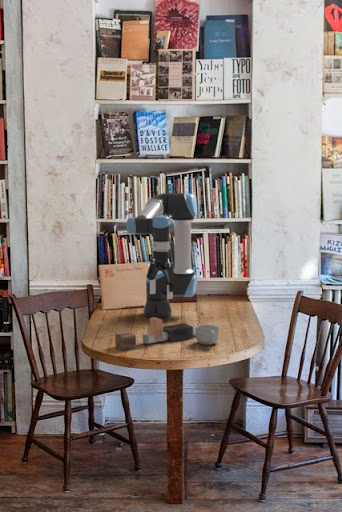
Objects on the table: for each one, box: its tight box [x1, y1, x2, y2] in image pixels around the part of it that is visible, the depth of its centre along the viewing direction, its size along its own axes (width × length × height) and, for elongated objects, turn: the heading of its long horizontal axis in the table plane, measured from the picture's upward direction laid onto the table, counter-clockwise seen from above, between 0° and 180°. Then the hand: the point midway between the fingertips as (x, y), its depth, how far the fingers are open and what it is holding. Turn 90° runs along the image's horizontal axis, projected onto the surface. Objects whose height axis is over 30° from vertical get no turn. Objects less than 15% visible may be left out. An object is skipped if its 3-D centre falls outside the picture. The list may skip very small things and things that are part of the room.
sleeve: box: [162, 322, 194, 343], centre depth 348 cm, size 8×12×6 cm, turn 123°
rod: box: [142, 317, 196, 345], centre depth 345 cm, size 6×28×11 cm, turn 123°
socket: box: [114, 330, 137, 352], centre depth 333 cm, size 8×6×6 cm
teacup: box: [195, 323, 220, 346], centre depth 337 cm, size 14×11×8 cm
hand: (161, 296), depth 339 cm, fingers open, 13 cm apart
